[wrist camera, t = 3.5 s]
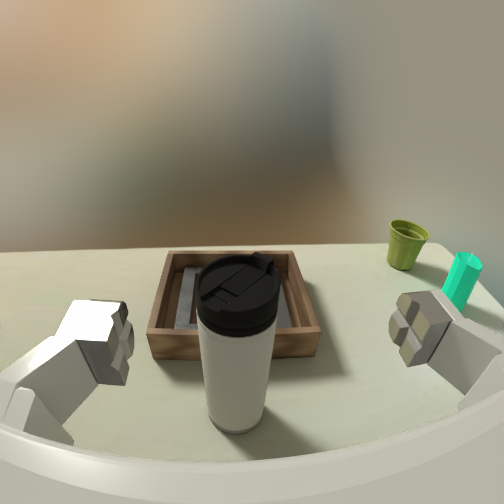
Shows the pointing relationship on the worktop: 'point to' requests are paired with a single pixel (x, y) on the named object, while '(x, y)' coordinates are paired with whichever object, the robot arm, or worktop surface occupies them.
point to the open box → (166, 303)
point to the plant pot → (405, 243)
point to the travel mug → (237, 336)
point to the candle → (462, 278)
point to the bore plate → (187, 303)
